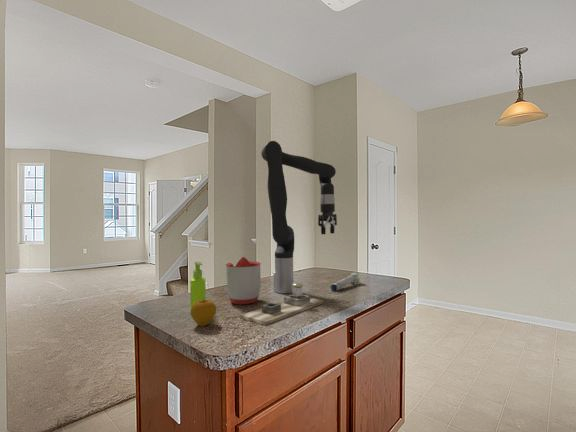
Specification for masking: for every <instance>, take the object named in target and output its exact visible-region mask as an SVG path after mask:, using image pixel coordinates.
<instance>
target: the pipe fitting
mask: <svg viewBox="0 0 576 432" xmlns="http://www.w3.org/2000/svg"><path fill="white" fill-rule="evenodd" d="M303 285H304V284H303V283H302V282H294V283H293V284H292V292H291V293H292V294H291V295H292V298H295V299H300V298H302V295H303V287H304V286H303Z"/></svg>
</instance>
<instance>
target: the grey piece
mask: <svg viewBox="0 0 576 432" xmlns="http://www.w3.org/2000/svg"><path fill="white" fill-rule="evenodd" d="M360 280H361V278H360V277H359V274H358V273H357V272H351V273H350V275H348V276H346V277H344V278H342V279H340V280H337V281H335V282H334V283H332V284H331V285H330V290H331V291H332V292H334V291H335V293H336V292H338V291H341V290H342V289H343V288H344V287H345V286H347V285H349V284H350V285H351V284H352V285H353V286H357V285H360Z"/></svg>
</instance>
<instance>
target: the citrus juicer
mask: <svg viewBox="0 0 576 432" xmlns="http://www.w3.org/2000/svg"><path fill="white" fill-rule="evenodd" d="M261 265H262V263H261V261H259V262H258V261H249V260H248V259H247V258H246V257H245V256H242V257H241V258H240V259H239V260H238V262H237V263H236V264H235V266H234V264H233V263H232V262H228V263H226V264H225V266H226V273H225V274H226V276H225V277H226V290H227V295H228V298H229V300H230V303H232V304H235V305H239V306H241V305H249V304H254V303H257V301H258V298H259V296H260V290H261V279H262V278H261Z"/></svg>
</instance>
